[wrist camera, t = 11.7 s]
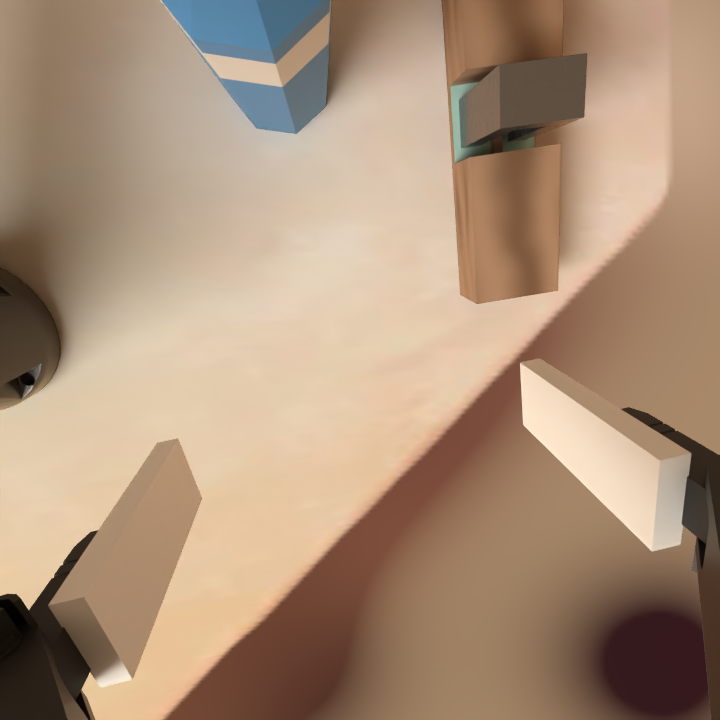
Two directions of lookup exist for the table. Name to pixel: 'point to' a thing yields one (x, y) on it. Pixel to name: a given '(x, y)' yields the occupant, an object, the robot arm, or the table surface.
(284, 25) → the water bottle
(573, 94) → the clip
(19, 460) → the table surface
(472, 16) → the rail
